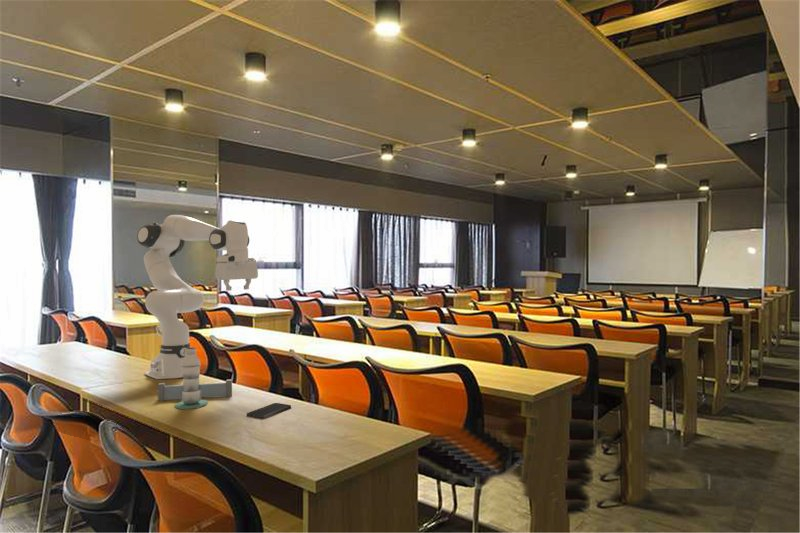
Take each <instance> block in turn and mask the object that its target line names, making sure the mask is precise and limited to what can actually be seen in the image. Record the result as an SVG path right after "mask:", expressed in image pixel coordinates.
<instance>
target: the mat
mask: <svg viewBox="0 0 800 533" xmlns="http://www.w3.org/2000/svg"><path fill="white" fill-rule="evenodd" d="M207 405H208V401H207V400H205V399H201V400H200V402H198V403H195V404H184V403H183V402H182V401H180V402H177V403H175V404H174V408H175V409H178V410H194V409H199V408H204V407H206V406H207Z"/></svg>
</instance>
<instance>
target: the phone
mask: <svg viewBox="0 0 800 533" xmlns="http://www.w3.org/2000/svg"><path fill="white" fill-rule="evenodd" d="M291 409H292V405H291V404H285V403H280V402H273V403H271V404H268V405H265V406H263V407H260V408H257V409H255V410H251V411H249V412H247V413H246V417H247V418H252V417H253V418H254V419H259V420H265V419H268V418H269V417H273V416H275V415H278V414H279V413H282V412H286V411H287V410H291Z"/></svg>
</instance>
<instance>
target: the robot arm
mask: <svg viewBox="0 0 800 533" xmlns="http://www.w3.org/2000/svg"><path fill="white" fill-rule="evenodd" d="M248 230H249V229H248V226H247V223H246V222H245V221H242V220H237V219H236V220H235V219H230V220H227V222H226V224H224V225H222V226H220V227H218V226H214V225H212V224H209V223H206V222H203V221H201V220H199V219H196V218H193V217H190V216H186V215H183V214H170V215H168V216H167V217H165V218H164V220H163V223H161V224H159V223H157V222H154V223H151V224H146V225H145V224H144V225H143V226H141V227H140V228H139V230H138V232H137V236H136V239H137V242H138V244H140V246H142V247H145V248H147V249H148V248H149V249H150V250H148V251H147V252H146V253H145V254H144V256H143V263H144V267H145V270H146V272H147V275H148V278H149V280H150V282H151V284H152V286H153V287H154V288H155V290H154V291H150V292H149V293H148V294H147V296H146V297H145V300H144V306H145V309H146V310H147V311H148V313H150V314H152V315H153V316H154V317H155V318H156V319H157V321H158V322H159V325H160V328H161V337H162V338H161V340H162V344H161V345H160V346H159V354H158V355H156V356H155V357H154V358H153V359H152V360H151V361H150V370H147V371H145V372H144V375H145V376H148V377H150V378H153V379H154V380H165V379H166V380H167V379H179V378H183V373H182V366H181V362H182V360H183V358H184V357H185V356H186V354H185V348H191V343H190V327H189V326H188V324H187V323H185V322H184V321H182V320H180V319H179V318H178V314H183V313H191V312H194V311H198V310H200V309H201V308H202V307H203V305H204V302H205V299H204V295H203V293H202V291H201V290H199V289H198V288H194V287H192V286H190V285H189V284H188V283H187V282H185V281H184V280H183V279H181V277H180V276H179V275H178V272H176V270H175V268H174V266H173V264H172V262H171V260H170V258H173V257H175V256H176V255H177V254H179V253H180V252H181V251H182V250H183V248H184V247H185V243H186V242H185V241H187V242H199V241H200V242H202V241H209V242H208V243H209V244H210V246H211V248H212V249H213V250H216V251H226V253H224V254H222V255H219V256H217V257H216V262H217V263H216V265H215V279H216V280H217V281H223V284H224V286H225V291H228V292H229V291H233V290H232V285H230V281H232V280H245V284H243V290H249V289H250V285H251V282H252V280H253V279H254V280H255V279H258V276H259V271H258V263H257V260H256V259H255V258H254V257H249V249H248V248H249V247H248V246H249V244H250V237H249V232H248Z"/></svg>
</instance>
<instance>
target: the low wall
mask: <svg viewBox="0 0 800 533" xmlns="http://www.w3.org/2000/svg"><path fill="white" fill-rule="evenodd" d="M199 384H200V391H201V399H202V397H205V398H216V397H217V396H222V397H232V396H233V379H229V378H228V379H226V380H225V382H212V383H210V382H209V383H199ZM182 391H183V384H174V385H172V384H171V385H166V382H159V383H158V384H157V401H166V400H167V401H168V400H169V401H170V400H182ZM217 398H218V397H217Z"/></svg>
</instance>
